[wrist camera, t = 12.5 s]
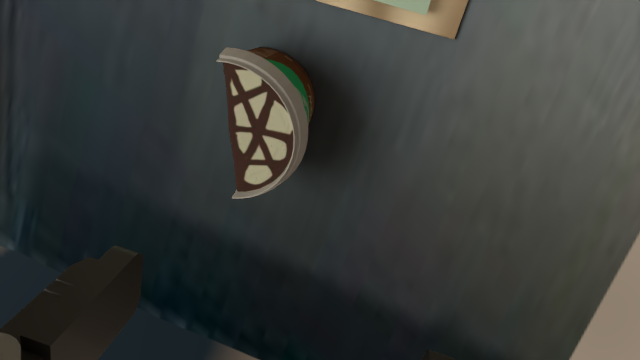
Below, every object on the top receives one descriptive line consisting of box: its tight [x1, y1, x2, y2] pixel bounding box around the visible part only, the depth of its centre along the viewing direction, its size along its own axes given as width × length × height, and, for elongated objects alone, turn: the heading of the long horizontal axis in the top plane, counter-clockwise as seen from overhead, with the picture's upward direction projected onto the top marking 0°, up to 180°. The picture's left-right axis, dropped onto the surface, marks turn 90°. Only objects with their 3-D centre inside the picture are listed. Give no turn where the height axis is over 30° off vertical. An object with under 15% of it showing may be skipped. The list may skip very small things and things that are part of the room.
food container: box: [217, 47, 315, 198], centre depth 43 cm, size 12×6×10 cm, turn 2°
